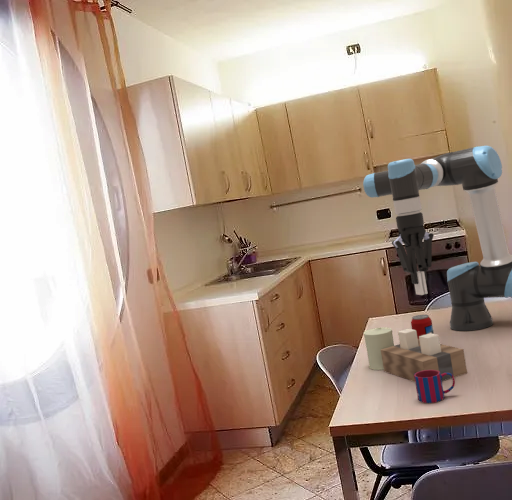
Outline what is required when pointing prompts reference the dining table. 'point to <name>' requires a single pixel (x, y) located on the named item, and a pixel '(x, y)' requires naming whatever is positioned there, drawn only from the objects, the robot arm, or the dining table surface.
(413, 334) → the peg
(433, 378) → the mug
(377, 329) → the can
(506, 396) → the dining table surface
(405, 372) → the socket block
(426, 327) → the beverage can
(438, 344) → the peg
